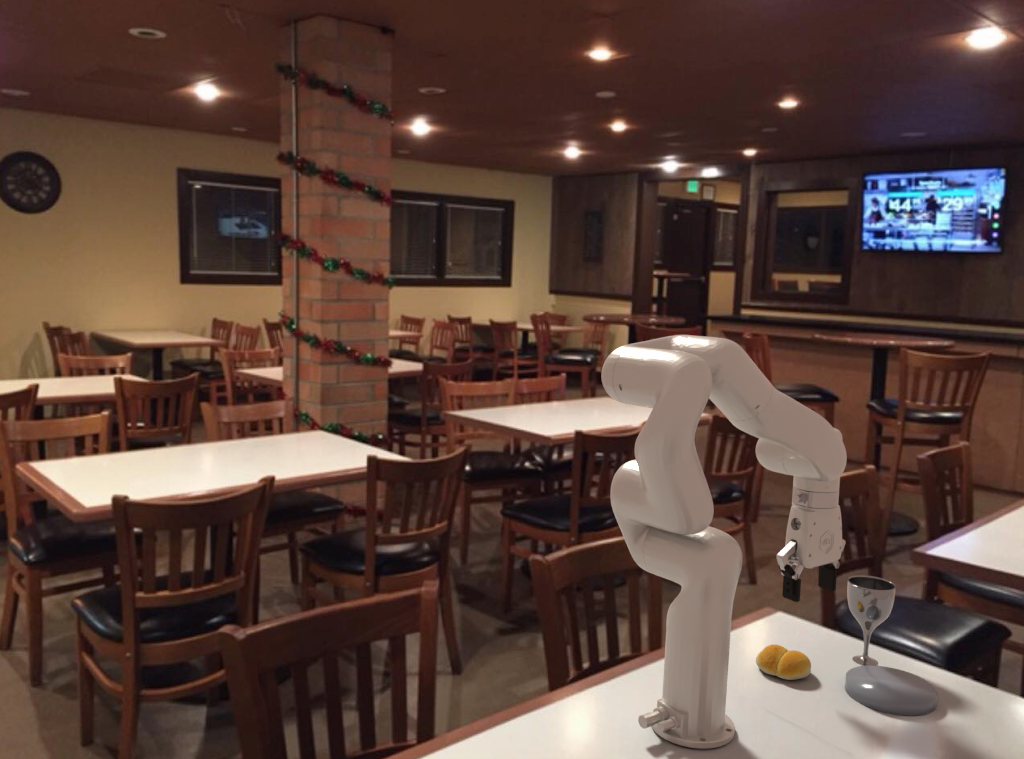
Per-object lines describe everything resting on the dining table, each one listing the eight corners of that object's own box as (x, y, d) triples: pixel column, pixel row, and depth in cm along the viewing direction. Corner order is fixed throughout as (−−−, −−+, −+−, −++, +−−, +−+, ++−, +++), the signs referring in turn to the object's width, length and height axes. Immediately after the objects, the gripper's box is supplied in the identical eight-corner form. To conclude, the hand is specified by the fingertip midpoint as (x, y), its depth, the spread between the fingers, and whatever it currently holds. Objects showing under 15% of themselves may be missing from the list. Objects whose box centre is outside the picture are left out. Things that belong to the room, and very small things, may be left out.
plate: (904, 724, 136) (905, 711, 135) (827, 688, 147) (828, 676, 147) (953, 702, 143) (954, 691, 143) (876, 670, 155) (877, 659, 155)
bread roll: (800, 686, 146) (800, 663, 146) (750, 671, 152) (750, 649, 152) (819, 669, 153) (819, 647, 152) (770, 655, 159) (771, 634, 158)
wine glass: (840, 650, 163) (846, 572, 161) (886, 657, 161) (893, 578, 159) (842, 667, 155) (849, 586, 154) (891, 675, 153) (898, 592, 151)
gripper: (801, 509, 141) (794, 611, 143) (865, 496, 151) (858, 591, 153) (764, 499, 148) (758, 596, 150) (828, 487, 157) (822, 578, 159)
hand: (809, 594), depth 151 cm, fingers open, 9 cm apart
